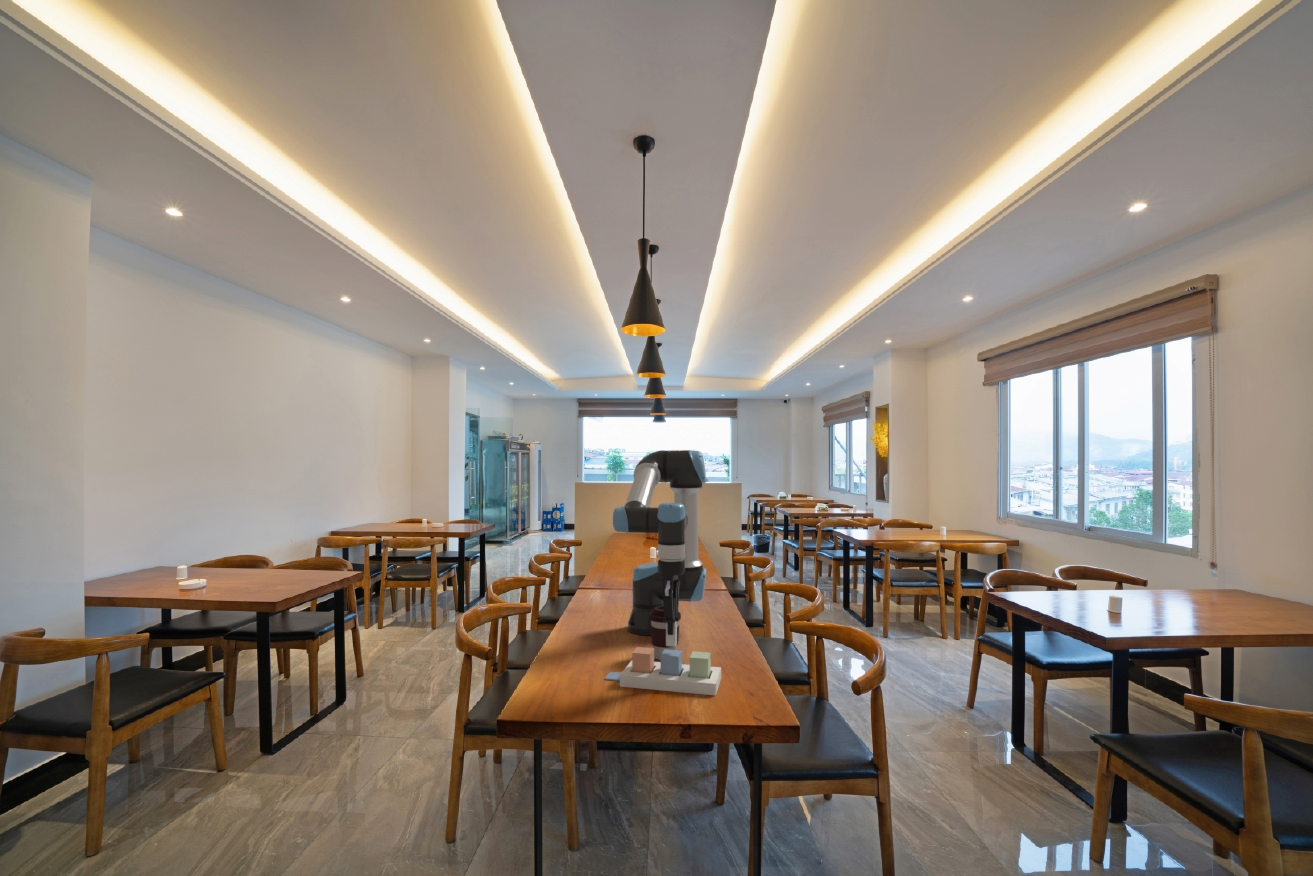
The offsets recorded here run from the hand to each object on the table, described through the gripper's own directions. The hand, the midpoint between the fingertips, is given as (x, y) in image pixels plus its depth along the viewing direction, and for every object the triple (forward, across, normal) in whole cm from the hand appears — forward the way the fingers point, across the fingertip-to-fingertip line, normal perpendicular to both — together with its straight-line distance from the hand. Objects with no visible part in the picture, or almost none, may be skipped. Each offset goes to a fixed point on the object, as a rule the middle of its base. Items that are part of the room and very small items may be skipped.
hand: (671, 645), depth 155 cm
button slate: (+7, 0, 0) cm, 7 cm away
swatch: (+10, 0, -16) cm, 19 cm away
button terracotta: (+7, 0, -8) cm, 11 cm away
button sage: (+7, 0, +8) cm, 11 cm away
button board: (+10, 0, 0) cm, 10 cm away
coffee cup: (+10, -19, -6) cm, 22 cm away
